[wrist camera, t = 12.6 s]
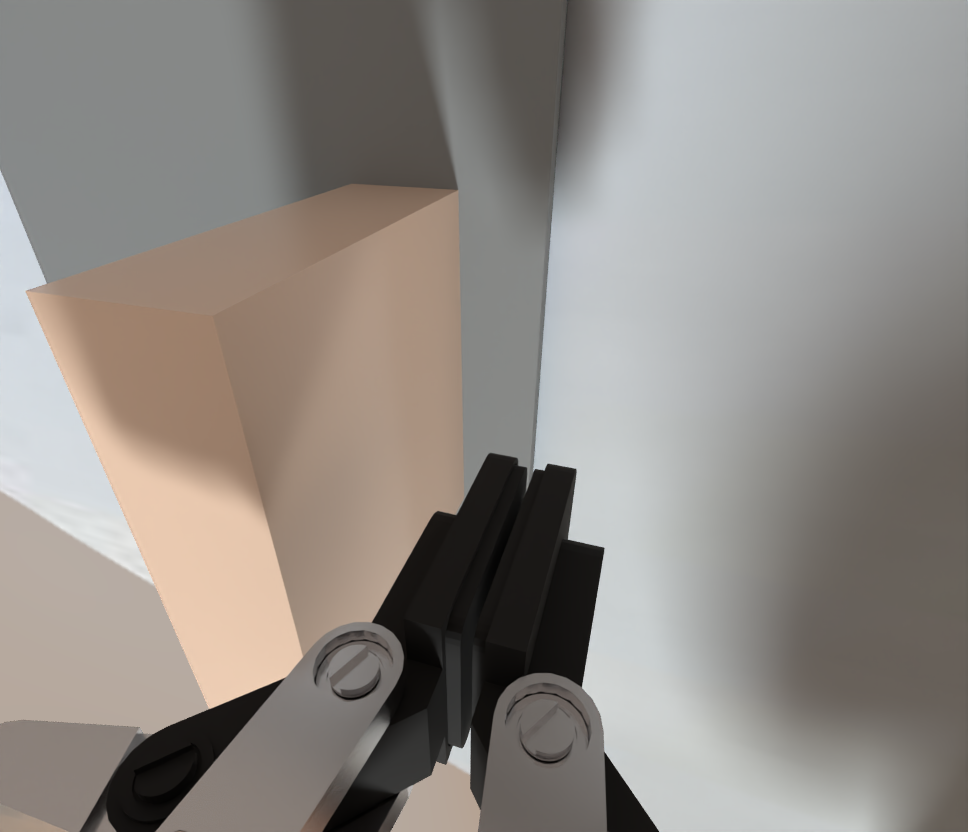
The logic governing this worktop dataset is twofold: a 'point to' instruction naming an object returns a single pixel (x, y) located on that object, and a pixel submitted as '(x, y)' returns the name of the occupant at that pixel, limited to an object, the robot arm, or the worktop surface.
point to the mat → (299, 143)
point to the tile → (274, 414)
